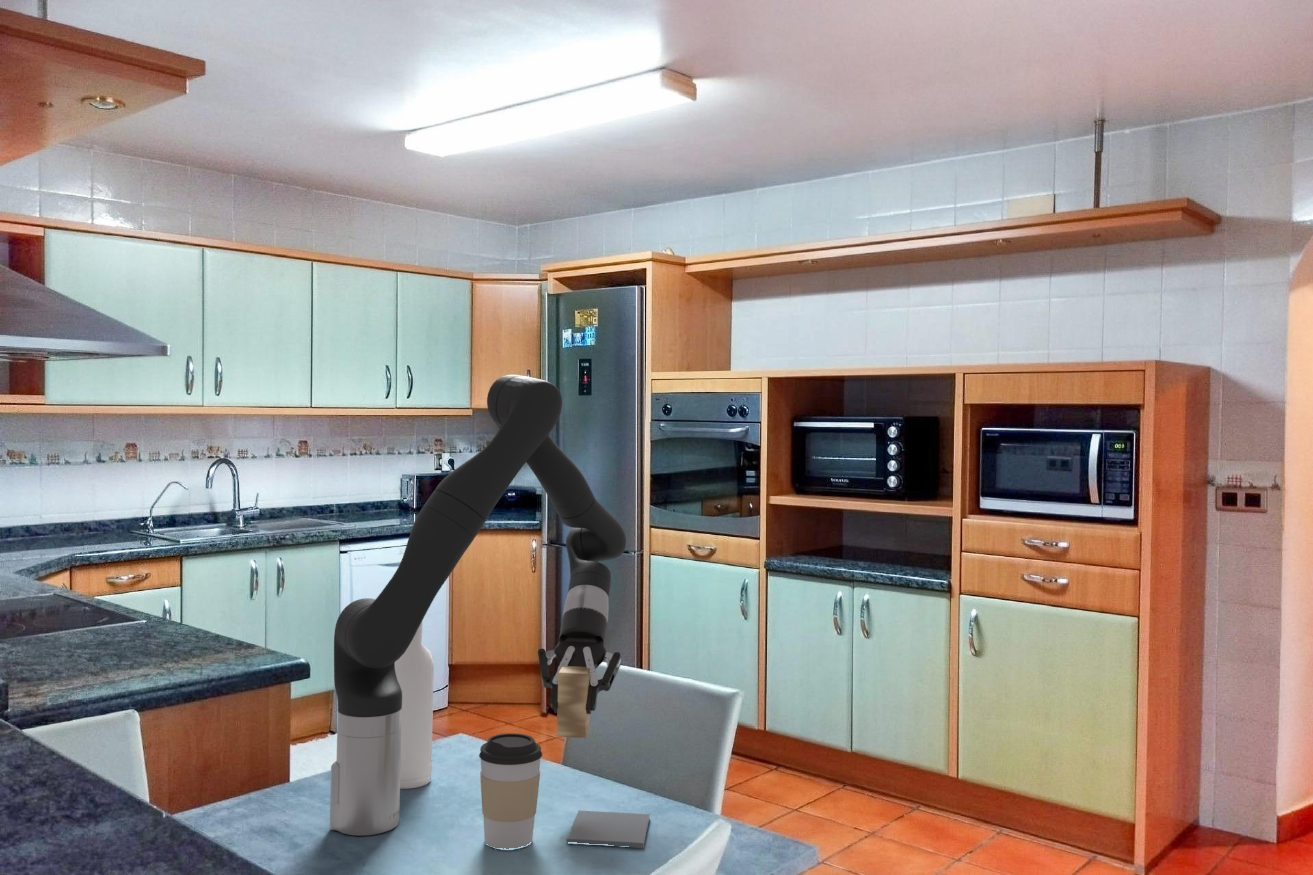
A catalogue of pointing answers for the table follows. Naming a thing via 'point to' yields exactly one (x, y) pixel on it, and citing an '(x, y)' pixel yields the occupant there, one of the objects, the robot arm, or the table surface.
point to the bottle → (416, 713)
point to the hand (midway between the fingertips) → (572, 710)
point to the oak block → (573, 702)
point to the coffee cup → (509, 789)
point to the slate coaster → (610, 828)
